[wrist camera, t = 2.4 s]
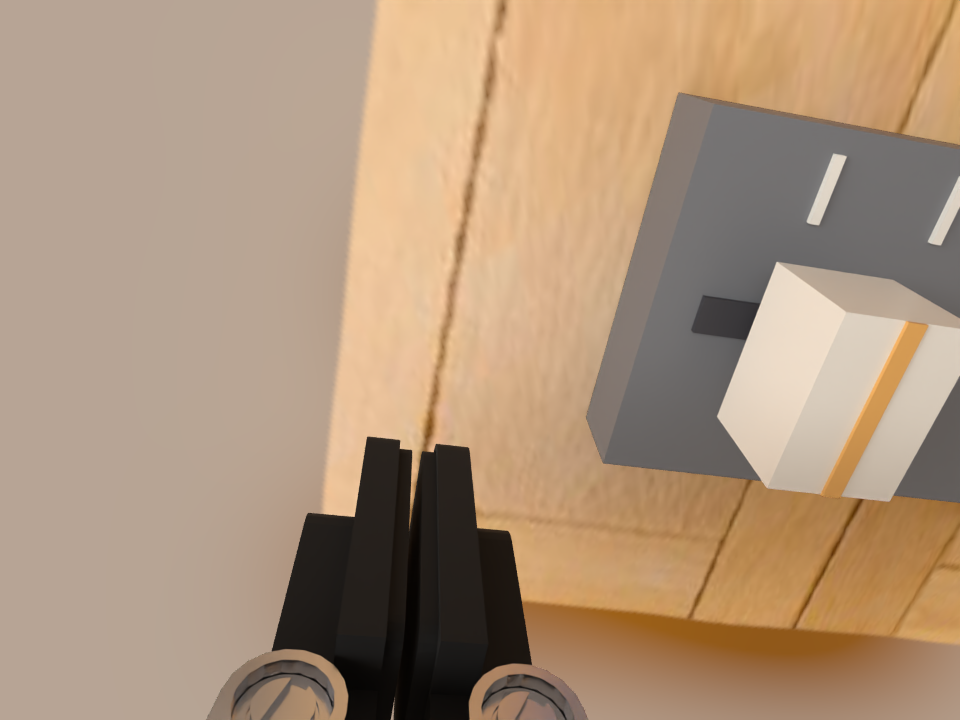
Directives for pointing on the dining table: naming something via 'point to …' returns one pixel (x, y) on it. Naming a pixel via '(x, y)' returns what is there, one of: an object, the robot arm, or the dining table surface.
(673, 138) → the console
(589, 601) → the dining table surface
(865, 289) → the fader
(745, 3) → the dining table surface
